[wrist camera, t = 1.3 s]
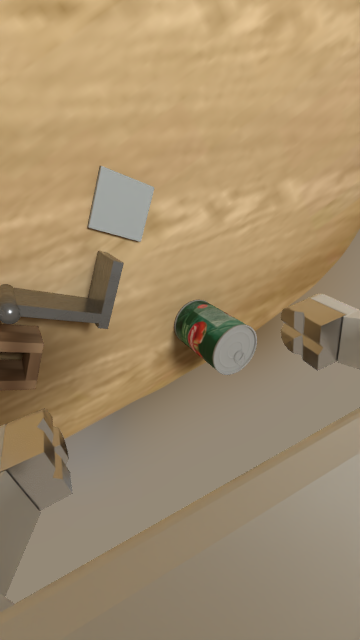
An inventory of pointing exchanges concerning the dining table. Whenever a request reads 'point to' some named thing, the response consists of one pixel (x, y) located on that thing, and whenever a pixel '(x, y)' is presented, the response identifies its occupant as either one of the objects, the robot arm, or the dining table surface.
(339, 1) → the dining table surface
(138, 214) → the mat
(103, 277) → the bent rail
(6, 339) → the brown hollow square block
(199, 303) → the canned tomato
